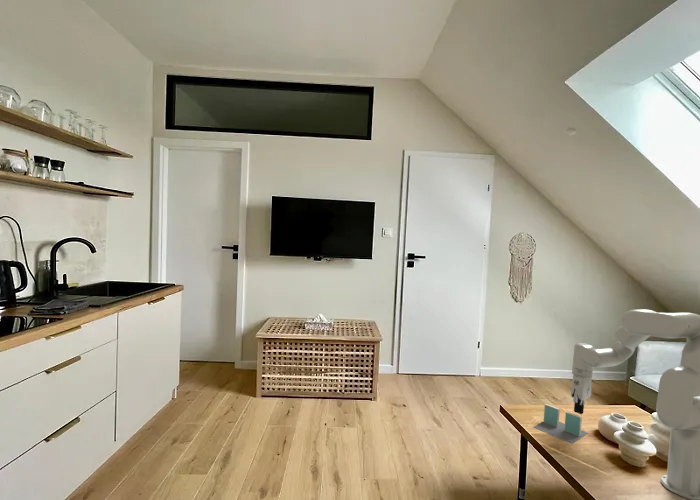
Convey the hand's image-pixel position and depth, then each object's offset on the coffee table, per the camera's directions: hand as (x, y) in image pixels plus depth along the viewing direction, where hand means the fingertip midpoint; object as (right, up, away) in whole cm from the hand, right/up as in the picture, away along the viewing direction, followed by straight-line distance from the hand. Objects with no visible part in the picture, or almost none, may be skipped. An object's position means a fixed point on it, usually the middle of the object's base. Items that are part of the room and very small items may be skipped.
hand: (578, 412), depth 165 cm
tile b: (-10, -7, +3) cm, 13 cm away
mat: (-9, -7, -2) cm, 12 cm away
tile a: (-5, -7, -4) cm, 10 cm away
